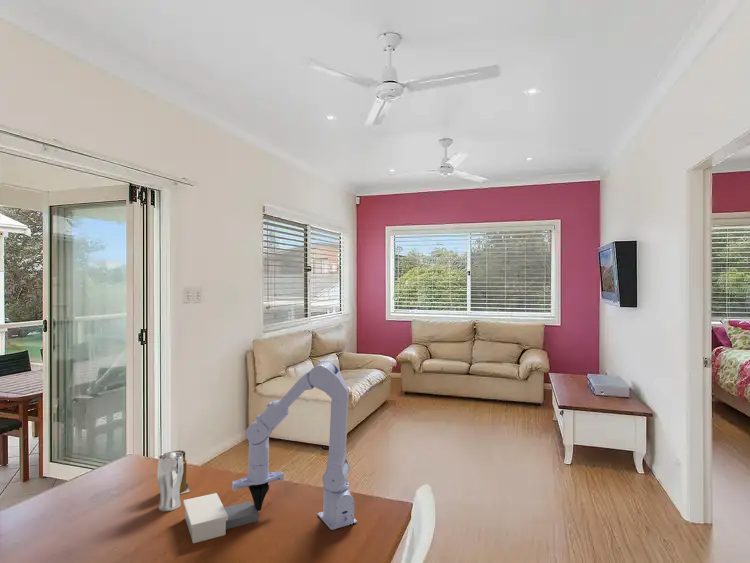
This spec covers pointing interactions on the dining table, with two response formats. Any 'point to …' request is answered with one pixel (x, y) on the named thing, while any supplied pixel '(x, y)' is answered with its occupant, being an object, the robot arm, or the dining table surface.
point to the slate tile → (241, 514)
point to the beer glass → (170, 480)
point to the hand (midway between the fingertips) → (257, 509)
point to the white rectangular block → (205, 517)
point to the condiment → (184, 483)
